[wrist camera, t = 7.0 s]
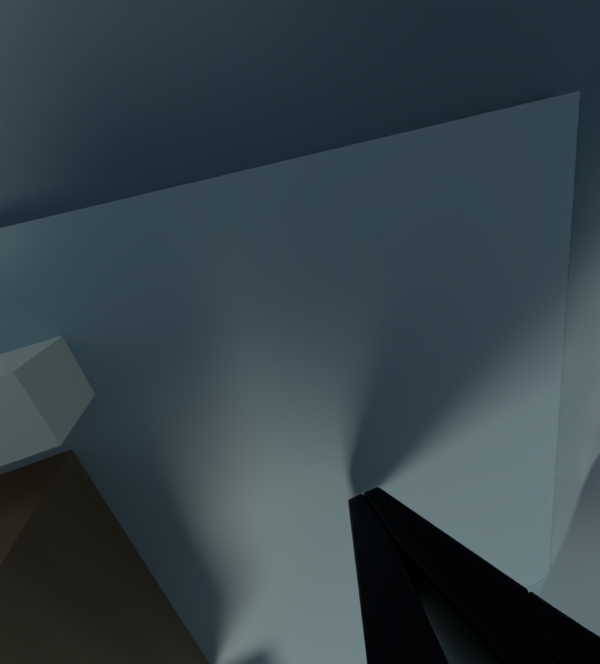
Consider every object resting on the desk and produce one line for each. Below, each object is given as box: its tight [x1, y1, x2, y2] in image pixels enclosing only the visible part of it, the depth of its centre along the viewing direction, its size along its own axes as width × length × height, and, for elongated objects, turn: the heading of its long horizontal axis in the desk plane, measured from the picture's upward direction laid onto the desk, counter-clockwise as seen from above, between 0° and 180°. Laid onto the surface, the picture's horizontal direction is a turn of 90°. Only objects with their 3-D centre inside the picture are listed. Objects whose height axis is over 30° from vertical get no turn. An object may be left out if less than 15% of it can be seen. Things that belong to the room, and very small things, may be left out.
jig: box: [0, 91, 580, 664], centre depth 7 cm, size 22×16×2 cm
